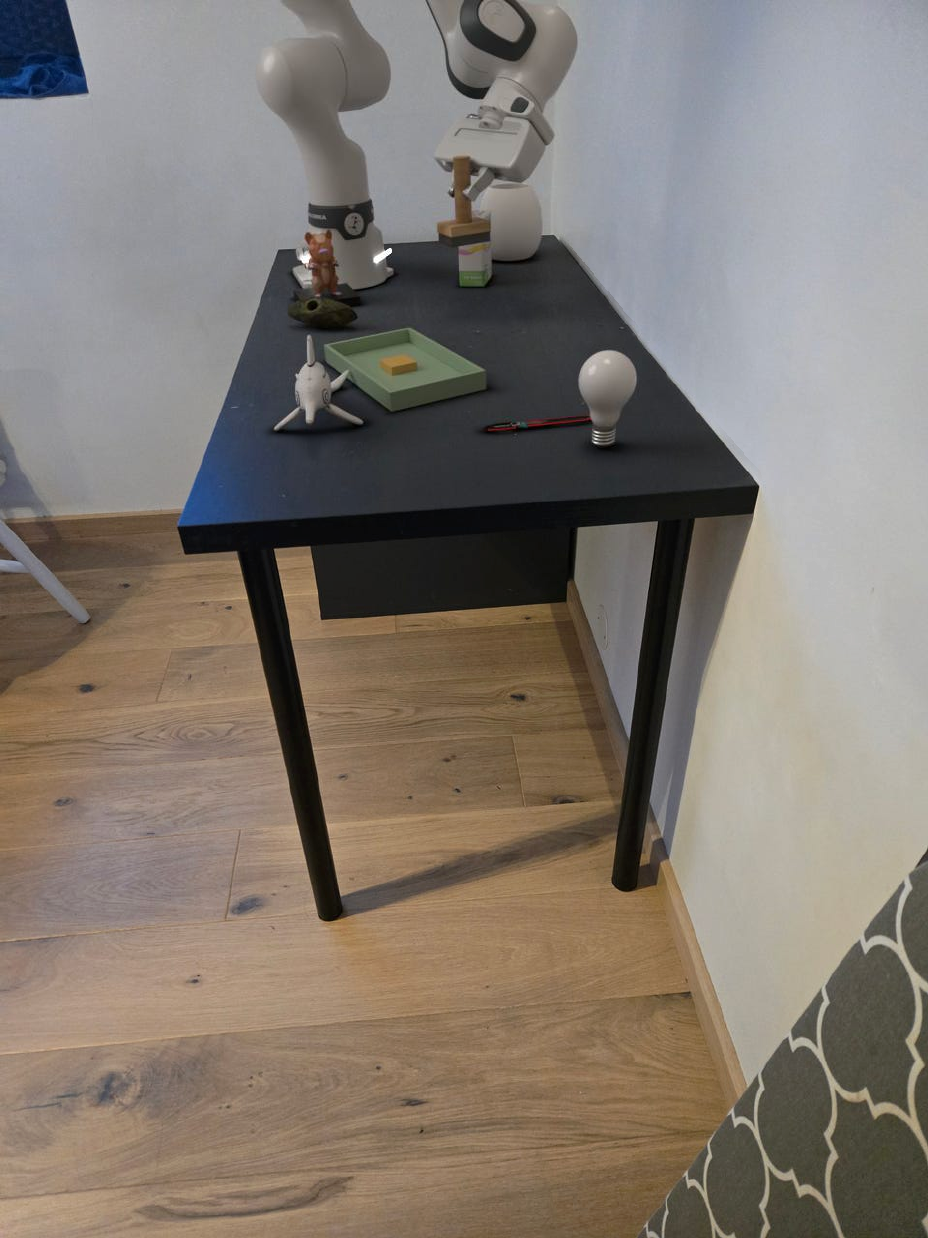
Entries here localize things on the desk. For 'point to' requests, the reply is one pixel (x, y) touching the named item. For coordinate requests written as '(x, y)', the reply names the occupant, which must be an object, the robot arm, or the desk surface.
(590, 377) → the lightbulb
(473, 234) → the wooden peg on base
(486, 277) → the ink box
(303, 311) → the decorative stone
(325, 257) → the figurine
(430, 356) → the tray
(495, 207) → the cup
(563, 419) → the pen
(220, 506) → the desk surface
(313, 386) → the dolphin figurine
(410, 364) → the orange block
